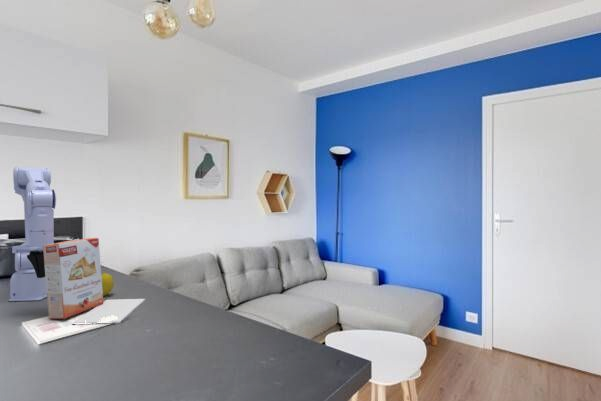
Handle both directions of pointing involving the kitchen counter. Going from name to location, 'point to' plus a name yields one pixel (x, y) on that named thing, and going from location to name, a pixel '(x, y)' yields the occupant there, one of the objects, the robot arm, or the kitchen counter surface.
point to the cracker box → (72, 277)
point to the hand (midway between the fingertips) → (41, 277)
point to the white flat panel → (111, 310)
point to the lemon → (107, 283)
